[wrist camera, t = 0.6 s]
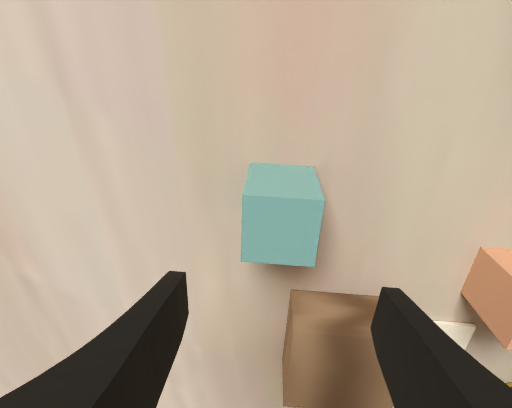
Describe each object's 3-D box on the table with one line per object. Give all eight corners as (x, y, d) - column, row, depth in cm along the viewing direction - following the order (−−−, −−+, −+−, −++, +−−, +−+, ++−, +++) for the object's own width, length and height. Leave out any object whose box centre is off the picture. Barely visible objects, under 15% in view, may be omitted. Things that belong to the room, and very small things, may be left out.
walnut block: (396, 297, 23) (417, 342, 20) (373, 367, 27) (388, 415, 23) (290, 289, 24) (293, 331, 20) (282, 359, 27) (283, 406, 23)
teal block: (313, 166, 19) (324, 200, 15) (306, 221, 21) (314, 267, 16) (250, 162, 19) (242, 194, 15) (248, 217, 21) (240, 261, 17)
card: (474, 323, 24) (477, 327, 24) (449, 374, 26) (451, 378, 26) (396, 317, 24) (398, 321, 24) (379, 367, 27) (381, 372, 26)
